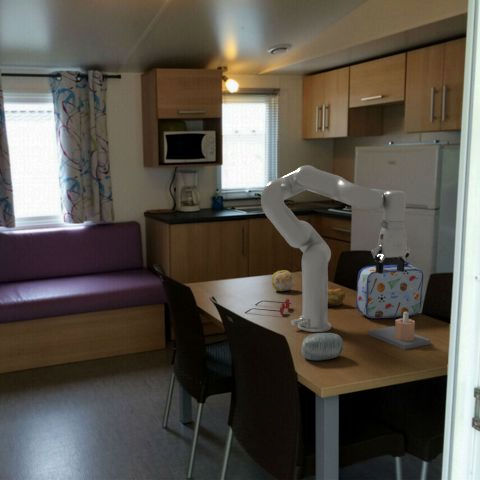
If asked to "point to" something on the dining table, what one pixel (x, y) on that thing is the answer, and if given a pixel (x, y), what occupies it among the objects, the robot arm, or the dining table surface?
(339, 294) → the bread roll
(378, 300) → the lunch box
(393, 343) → the grey peg stand
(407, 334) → the bead
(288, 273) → the fruit
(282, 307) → the glasses
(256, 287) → the dining table surface
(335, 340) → the grey yarn ball
